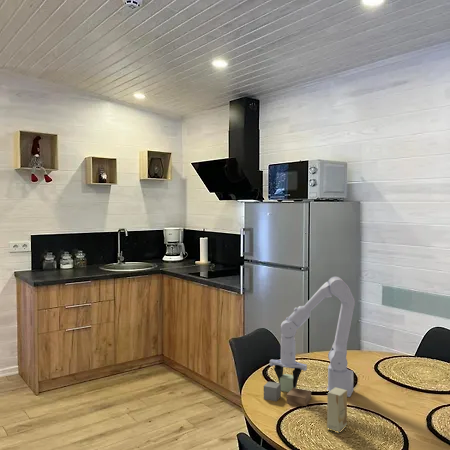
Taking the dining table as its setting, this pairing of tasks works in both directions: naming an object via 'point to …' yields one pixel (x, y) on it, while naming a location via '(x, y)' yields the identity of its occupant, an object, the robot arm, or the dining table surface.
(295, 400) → the walnut block
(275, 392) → the grey cube
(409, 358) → the dining table surface
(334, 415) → the skincare box
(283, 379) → the sage cube
